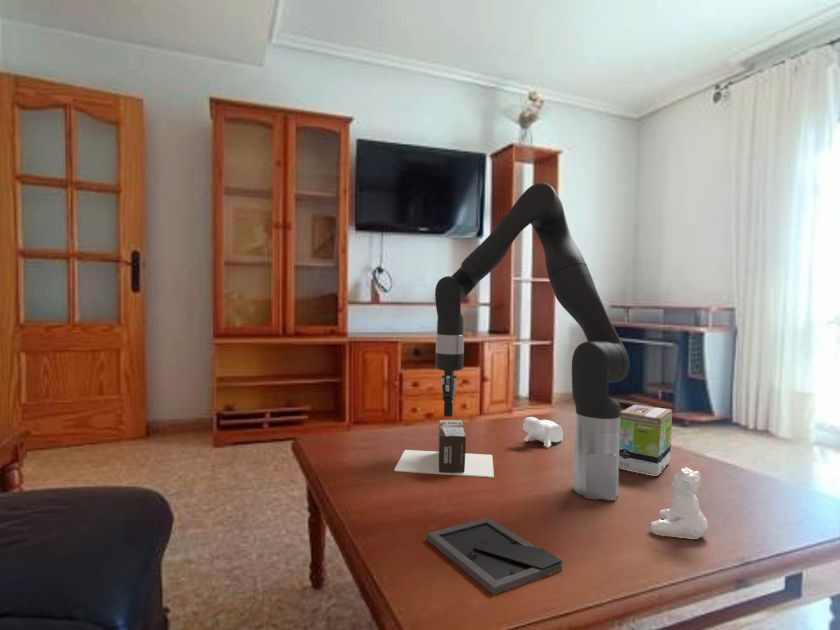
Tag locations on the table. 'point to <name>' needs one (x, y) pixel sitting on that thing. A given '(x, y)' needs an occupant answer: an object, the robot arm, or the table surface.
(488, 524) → the picture frame
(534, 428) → the white animal figurine
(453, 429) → the coffee box
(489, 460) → the flat white rectangular panel
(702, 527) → the seated beast figurine
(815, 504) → the table surface
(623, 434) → the tea box
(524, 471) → the table surface
